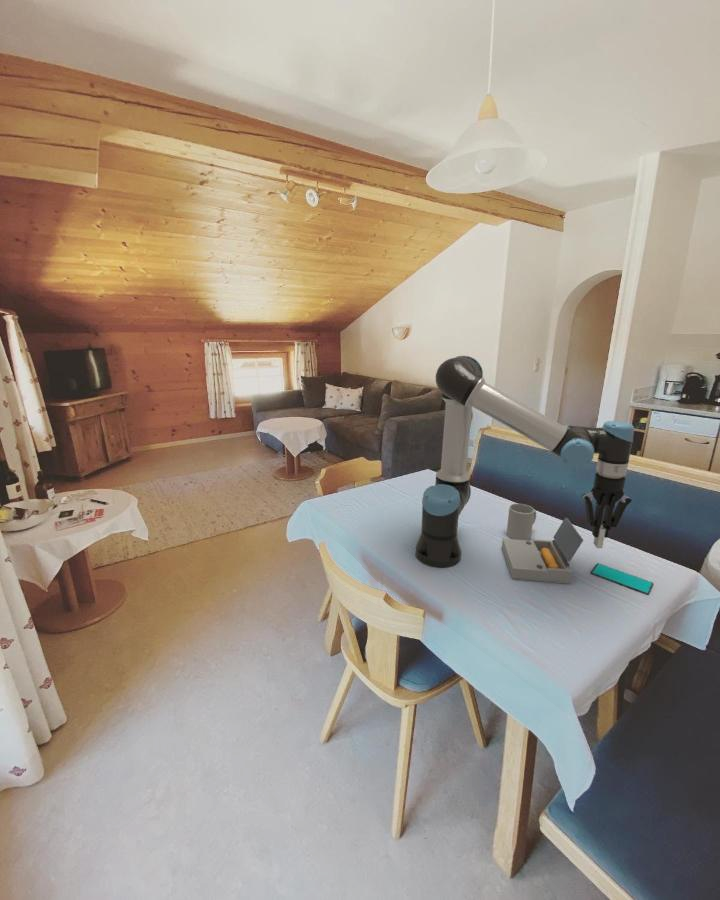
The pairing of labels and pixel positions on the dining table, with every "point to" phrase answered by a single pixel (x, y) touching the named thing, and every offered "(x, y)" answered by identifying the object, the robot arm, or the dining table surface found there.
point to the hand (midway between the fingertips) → (597, 545)
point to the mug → (520, 521)
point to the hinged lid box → (534, 561)
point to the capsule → (548, 558)
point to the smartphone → (622, 578)
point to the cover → (567, 541)
